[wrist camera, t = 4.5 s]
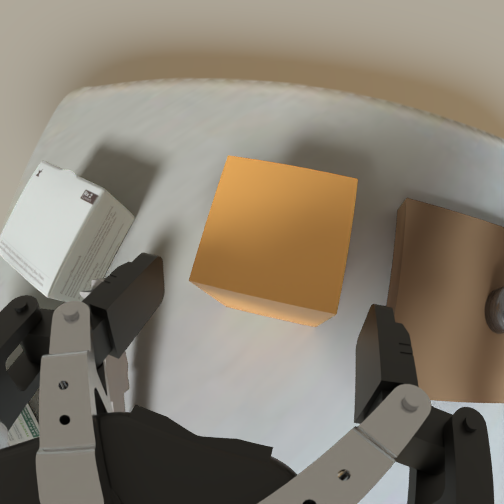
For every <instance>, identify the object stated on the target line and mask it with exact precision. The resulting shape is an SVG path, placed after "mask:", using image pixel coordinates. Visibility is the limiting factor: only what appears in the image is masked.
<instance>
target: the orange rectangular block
mask: <svg viewBox="0 0 504 504" xmlns="http://www.w3.org/2000/svg"><path fill="white" fill-rule="evenodd" d="M357 183H358V179H356V178H351V177H347V176H342V175H337V174H333V173H328V172H323V171H318V170H313V169H308V168H302V167H297V166H291V165H286V164H280V163H274V162H268V161H262V160H255V159H249V158H242V157H235V156H228V157H227V160H226V163H225V166H224V169H223V172H222V175H221V178H220V181H219V184H218V187H217V190H216V193H215V196H214V200H213V203H212V206H211V209H210V212H209V215H208V218H207V222H206V225H205V228H204V231H203V235H202V238H201V241H200V244H199V248H198V251H197V254H196V258H195V261H194V264H193V268H192V271H191V275H190V278H189V281H190V282H192V283H193V284H194V285H196V286H197V287H199V288H200V289H201V290H203V291H204V292H206V293H207V294H209V295H210V296H212V297H213V298H214V299H216V300H217V301H219V302H220V303H222V304H223V305H225V306H226V307H230V308H234V309H238V310H242V311H246V312H251V313H255V314H259V315H263V316H268V317H272V318H276V319H281V320H285V321H290V322H294V323H299V324H303V325H308V326H313V327H316V326H318V325H320V324H321V323H323V322H325V321H326V320H328V319H330V318H331V317H333V316H335V315H336V314H337V309H338V304H339V299H340V294H341V289H342V284H343V278H344V273H345V267H346V261H347V255H348V249H349V243H350V236H351V229H352V223H353V215H354V208H355V200H356V192H357Z"/></svg>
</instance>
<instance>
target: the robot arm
mask: <svg viewBox="0 0 504 504" xmlns="http://www.w3.org/2000/svg"><path fill="white" fill-rule="evenodd" d="M163 296H164V276H163V261H162V258H161V257H160V256H156V255H151V254H147V253H141V254H140V255H139V256H138V257H137V258H136V259H135V260H134V261H132V262H127V263H125V264H123V265H121V266H119V267H117V268H116V269H115V270H114V271H113V272H112V273H111V274H110V276H108V277H107V278H106V279H104V282H101V283H100V284H99V285H98V286H97V287H96V288H95V289H94V290H93V291H92V292H91V293H90V294H89V295H88V296H87V297H86V298H85V299H84V300H83V301H82V302H81V301H69V302H66V303H63V304H62V305H60V306H59V307H57V308H56V310H47V309H40V308H39V305H38V302H37V300H36V298H34V297H33V296H28V295H25V296H20V297H17V298H15V299H14V300H12V301H11V302H10V303H9V304H8V305H7V306H6V307H5V308H4V309H3V310H2V311H1V312H0V504H357V503H358V502H359V501H360V500H361V499H362V498H363V497H364V496H365V495H366V494H367V493H368V492H369V491H370V490H371V489H372V488H373V487H374V486H375V485H376V483H377V482H378V481H379V480H380V479H381V478H382V477H383V476H384V474H385V473H386V472H387V471H388V470H389V469H390V468H391V466H392V465H393V464H394V463H395V462H398V463H401V464H403V465H406V466H409V467H410V472H409V489H408V501H407V504H494V488H493V474H492V463H491V454H490V446H489V439H488V433H487V426H486V422H485V420H484V418H483V416H482V415H481V414H480V413H479V412H478V411H476V410H475V409H473V408H470V407H462V408H460V409H458V410H457V411H456V412H455V413H454V414H453V415H452V414H449V413H447V412H444V411H442V410H439V409H437V408H434V407H433V406H431V401H430V399H429V397H428V395H427V394H426V393H425V391H423V390H422V389H421V388H419V386H418V379H417V373H416V367H415V361H414V356H413V350H412V347H411V340H410V335H409V333H408V331H407V330H406V328H405V327H404V325H403V324H402V323H397V322H395V318H394V312H393V308H392V307H386V306H381V305H376V304H372V305H371V307H370V309H369V312H368V315H367V317H366V320H365V322H364V324H363V327H362V329H361V332H360V334H359V337H358V340H357V345H356V383H355V414H354V423H360V425H359V426H358V427H356V426H355V427H354V428H353V429H351V430H350V431H349V432H348V433H347V434H346V435H345V436H344V437H343V438H341V439H340V440H339V441H338V442H337V443H336V444H335V445H334V446H332V447H331V448H330V449H329V450H328V451H327V452H325V453H324V454H323V455H322V456H321V457H320V458H318V459H317V460H316V461H315V462H313V463H312V464H311V465H310V466H308V467H307V468H306V469H305V470H303V471H302V472H301V473H300V474H298V475H297V474H296V473H295V472H294V471H293V470H292V469H291V468H290V467H288V466H287V465H286V464H284V463H283V462H281V461H279V460H278V459H276V458H274V457H271V453H272V449H273V447H269V446H264V445H260V444H256V443H251V442H247V441H243V440H239V439H229V438H214V437H202V436H197V435H195V434H193V433H192V432H190V431H188V430H187V429H185V428H183V427H182V426H180V425H179V424H177V423H176V422H174V421H172V420H171V419H169V418H168V417H166V416H163V415H161V414H158V413H156V412H153V411H150V410H148V409H145V408H143V407H140V406H138V405H135V407H134V409H133V410H132V412H131V413H129V412H113V409H112V405H111V401H110V394H109V387H108V379H107V371H106V363H105V358H106V357H107V356H108V355H110V356H113V357H115V358H118V359H119V358H120V357H121V356H122V354H123V353H124V351H125V350H126V349H127V347H128V346H129V345H130V343H131V342H132V341H133V339H134V338H135V337H136V335H137V334H138V333H139V331H140V330H141V329H142V327H143V326H144V325H145V323H146V322H147V321H148V319H149V318H150V317H151V315H152V314H153V313H154V312H155V310H156V309H157V308H158V306H159V305H160V304H161V302H162V299H163ZM19 344H21V347H22V349H23V352H22V353H21V355H20V356H19V357H18V358H17V359H16V361H15V362H14V363H13V364H12V365H11V367H10V368H9V369H8V370H7V371H6V367H5V363H6V360H7V358H8V357H9V355H10V354H11V353H12V352H13V351H14V350H15V348H16V347H17V346H18V345H19ZM39 387H40V388H39ZM38 388H39V437H37V438H34V439H31V440H28V441H25V442H21V443H18V444H15V445H12V446H10V445H9V443H8V431H9V430H10V428H11V427H12V425H13V424H14V422H15V421H16V419H17V418H18V416H19V415H20V413H21V412H22V410H23V409H24V408H25V406H26V405H27V403H28V402H29V400H30V399H31V398H32V396H33V395H34V393H35V392H36V391H37V389H38Z"/></svg>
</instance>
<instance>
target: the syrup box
mask: <svg viewBox="0 0 504 504" xmlns="http://www.w3.org/2000/svg"><path fill="white" fill-rule="evenodd" d="M37 437H39V424H38V422H37V420H36V418H35V416H34V414H33V412H32V410H31V408H30V406H29V404H28V403H27V405H26V406H25V408H24V409H23V410H22V412H21V413H20V415H19V416H18V418H17V419H16V421H15V422H14V424H13V425H12V427H11V428H10V430H9V431H8V443H9V445H10V446H12V445H15V444H18V443H21V442H25V441H28V440H31V439H34V438H37Z"/></svg>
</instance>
